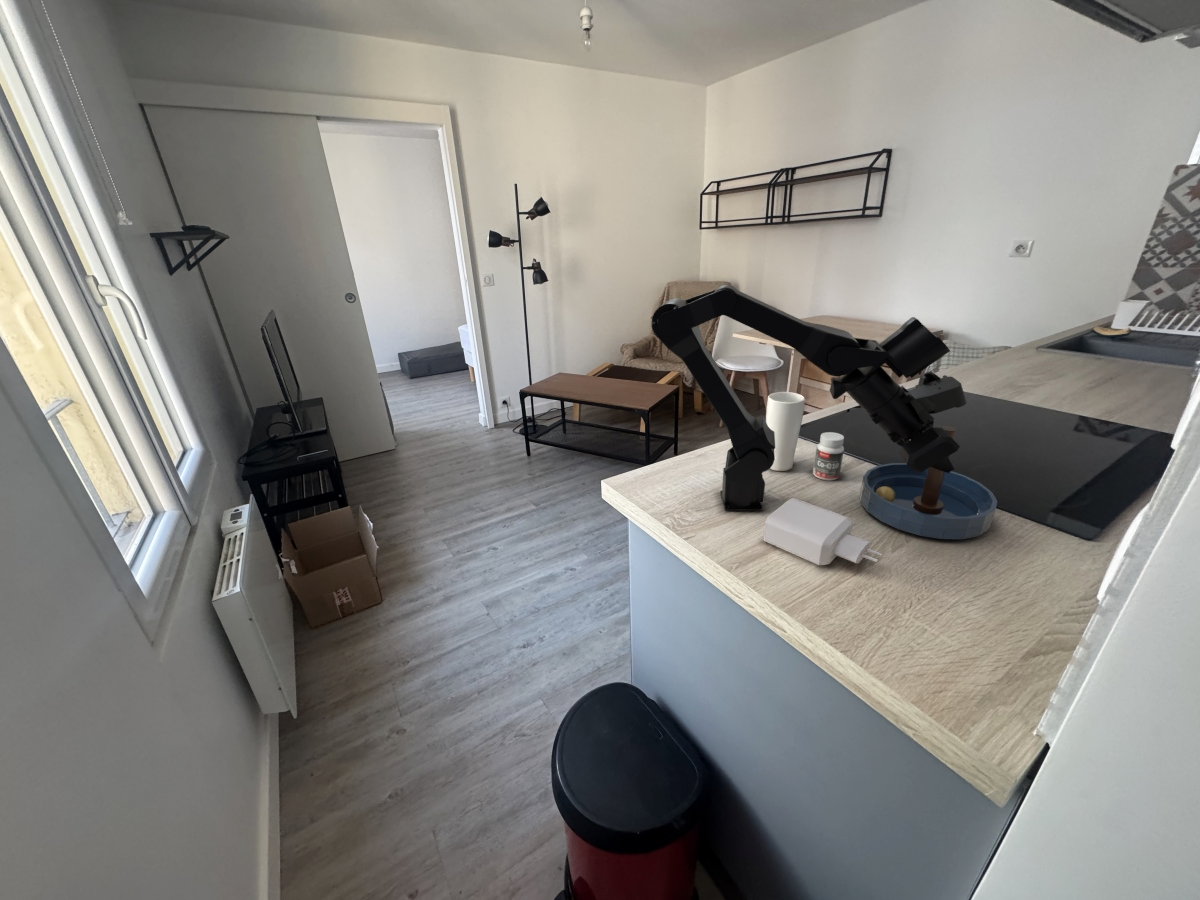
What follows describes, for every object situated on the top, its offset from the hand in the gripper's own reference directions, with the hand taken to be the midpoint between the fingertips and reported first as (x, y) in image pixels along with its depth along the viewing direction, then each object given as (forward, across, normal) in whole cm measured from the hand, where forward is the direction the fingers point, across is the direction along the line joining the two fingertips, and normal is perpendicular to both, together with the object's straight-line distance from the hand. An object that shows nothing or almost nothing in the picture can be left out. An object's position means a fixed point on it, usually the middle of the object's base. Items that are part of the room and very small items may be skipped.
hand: (947, 467), depth 72 cm
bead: (0, +3, +10) cm, 10 cm away
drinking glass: (-9, +16, +23) cm, 30 cm away
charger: (-6, -12, +20) cm, 24 cm away
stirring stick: (+4, 0, +6) cm, 8 cm away
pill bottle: (-3, +14, +17) cm, 22 cm away
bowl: (+6, +2, +8) cm, 10 cm away
